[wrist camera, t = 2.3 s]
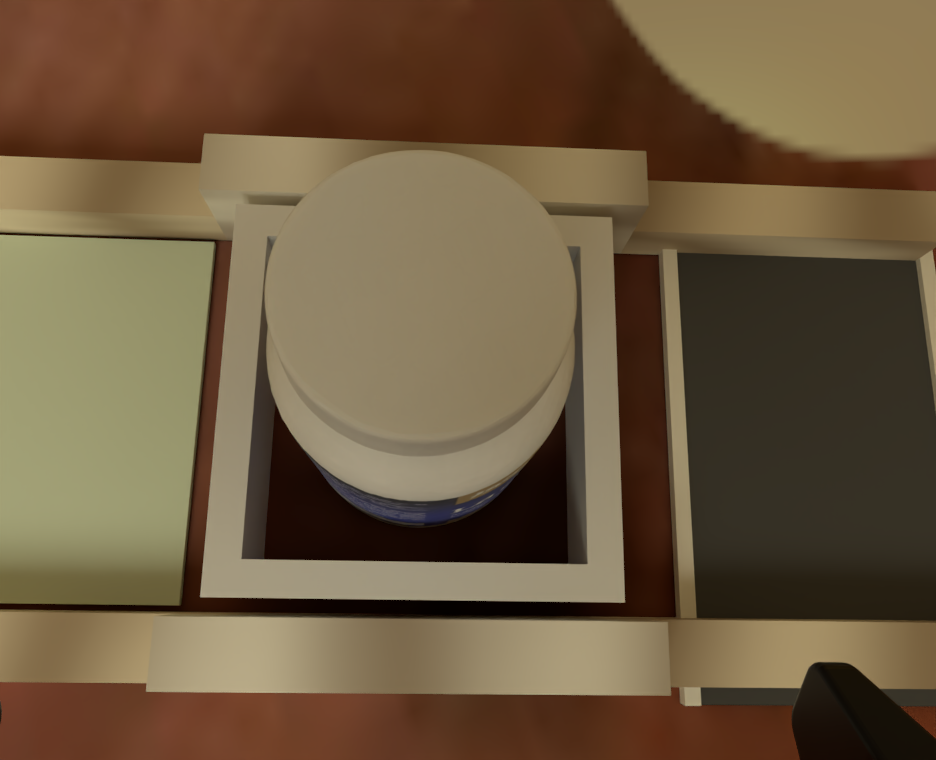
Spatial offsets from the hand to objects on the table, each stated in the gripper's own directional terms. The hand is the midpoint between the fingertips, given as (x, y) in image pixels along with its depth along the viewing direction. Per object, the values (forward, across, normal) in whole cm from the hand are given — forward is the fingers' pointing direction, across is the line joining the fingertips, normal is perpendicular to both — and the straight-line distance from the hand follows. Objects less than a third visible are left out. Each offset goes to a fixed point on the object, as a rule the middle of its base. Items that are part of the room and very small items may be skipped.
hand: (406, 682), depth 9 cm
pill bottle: (+12, 0, +5) cm, 13 cm away
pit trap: (+12, -10, +5) cm, 17 cm away
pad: (+12, +10, +5) cm, 16 cm away
